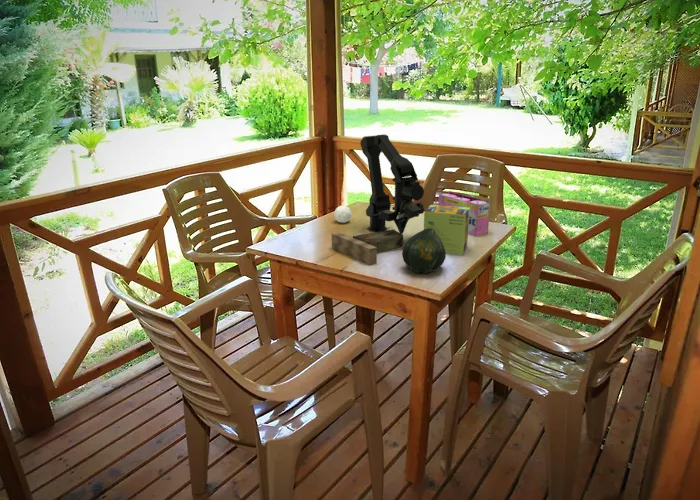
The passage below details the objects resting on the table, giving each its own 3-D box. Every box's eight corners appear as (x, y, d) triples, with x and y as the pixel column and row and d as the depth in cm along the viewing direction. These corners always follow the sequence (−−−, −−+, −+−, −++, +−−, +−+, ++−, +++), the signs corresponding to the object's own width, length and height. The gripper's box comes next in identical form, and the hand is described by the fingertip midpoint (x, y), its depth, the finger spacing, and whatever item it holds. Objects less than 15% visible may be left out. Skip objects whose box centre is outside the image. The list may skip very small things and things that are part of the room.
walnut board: (331, 248, 192) (331, 233, 189) (338, 246, 193) (337, 231, 191) (370, 265, 174) (370, 249, 172) (376, 263, 176) (376, 247, 174)
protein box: (463, 255, 182) (466, 214, 177) (422, 251, 187) (423, 211, 182) (467, 246, 191) (470, 207, 186) (428, 242, 197) (429, 204, 191)
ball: (339, 228, 224) (328, 216, 221) (345, 218, 229) (334, 205, 226) (351, 223, 219) (340, 209, 216) (357, 212, 225) (346, 199, 222)
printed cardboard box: (404, 248, 191) (404, 232, 188) (361, 257, 182) (360, 241, 180) (392, 242, 197) (393, 227, 195) (351, 251, 189) (350, 235, 187)
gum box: (434, 223, 221) (435, 193, 216) (447, 220, 225) (448, 190, 220) (475, 236, 202) (478, 204, 197) (488, 233, 206) (491, 201, 202)
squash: (391, 259, 164) (423, 228, 159) (397, 246, 178) (427, 217, 172) (422, 288, 165) (455, 258, 159) (426, 273, 179) (456, 245, 173)
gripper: (398, 202, 180) (397, 243, 185) (434, 194, 190) (432, 233, 195) (378, 197, 188) (378, 236, 194) (414, 189, 198) (413, 227, 204)
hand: (401, 233), depth 196 cm, fingers closed
